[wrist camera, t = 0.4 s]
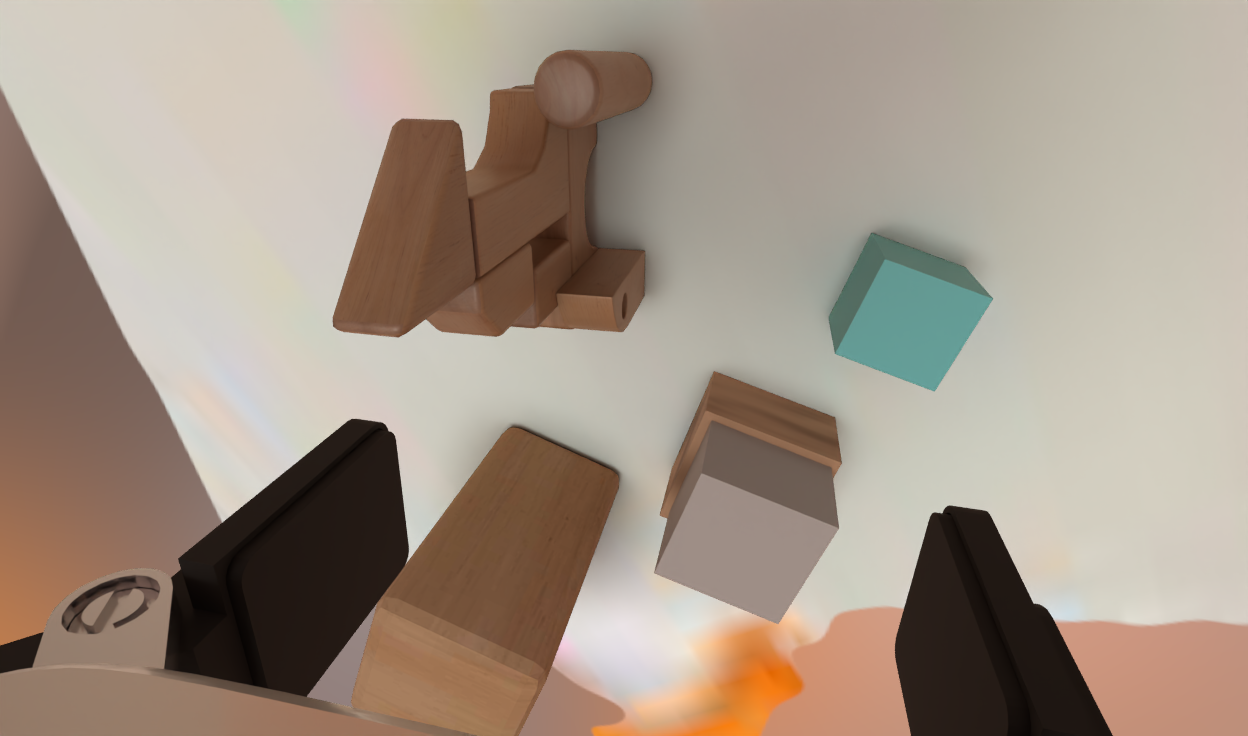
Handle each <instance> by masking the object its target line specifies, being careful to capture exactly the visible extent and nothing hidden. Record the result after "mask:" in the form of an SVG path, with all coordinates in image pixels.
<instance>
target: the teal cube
mask: <svg viewBox="0 0 1248 736" xmlns="http://www.w3.org/2000/svg"><path fill="white" fill-rule="evenodd" d="M992 300H993V298H992V297H991V296H990V295H989V294H988V293H987V291H986V290H985V289H984V288H983V287H982V286H981V285H980V283H979V282H978V281H977V280H976V279H975V278H974V277H973V276H972V274H971V273H970V272H969V271H968V270H967V269H966V268H965V267H963V266H960V265H958V264H955V263H952V262H949V261H947V260H944V259H941V258H939V257H936V256H933V255H930V254H928V253H925V252H922V251H920V250H917V249H914V248H911V247H909V246H906V245H903V244H900V243H898V242H895V241H892V240H890V239H887V238H884V237H881V236H879V235H876V234H873V233H871V235H870V237H869V239H868V241H867V243H866V245H865V247H864V249H863V251H862V253H861V255H860V257H859V259H858V261H857V263H856V265H855V267H854V269H853V271H852V273H851V274H850V276H849V278H848V280H847V282H846V284H845V286H844V288H843V290H842V292H841V294H840V296H839V298H838V300H837V302H836V304H835V306H834V308H833V310H832V312H831V314H830V316H829V323H830V329H831V334H832V340H833V345H834V350H835V354H837V355H839V356H842V357H845V358H847V359H850V360H853V361H855V362H858V363H860V364H863V365H866V366H868V367H871V368H874V369H876V370H879V371H882V372H884V373H887V374H890V375H892V376H895V377H898V378H900V379H903V380H905V381H908V382H911V383H913V384H916V385H919V386H921V387H924V388H927V389H929V390H932V391H935V390H936V389H937V387H938V385H939V384H940V382H941V381H942V379H943V377H944V376H945V374H946V373H947V371H948V370H949V368H950V366H951V365H952V363H953V362H954V360H955V358H956V357H957V355H958V354H959V352H960V350H961V349H962V347H963V346H964V344H965V343H966V341H967V339H968V338H969V336H970V335H971V333H972V331H973V330H974V328H975V327H976V325H977V323H978V322H979V320H980V319H981V317H982V315H983V314H984V312H985V311H986V309H987V308H988V306H989V304H990V303H991V301H992Z"/></svg>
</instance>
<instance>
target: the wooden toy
mask: <svg viewBox="0 0 1248 736" xmlns="http://www.w3.org/2000/svg"><path fill="white" fill-rule="evenodd" d="M651 86H652V77H651V72H650V70H649V67H648V65H647V64H646V63H645V61H644V60H643V59H642V58H641V57H639V56H637V55H635V54H633V53H628V52H608V51H581V50H565V51H559V52H555V53H554V54H552V55H550V56H549V57H547V58H546V59H545V60H544V61H543V63H542V64H541V65H540V66H539V68H538V71H537V73H536V76H535V79H534V84H533V85H523V86H515V87H513V88H511V89H503V90H495V91H492V92H491V94H490V114H489V121H488V128H487V135H486V142H485V147H484V149H483V151H482V153H481V155H480V157H479V159H478V161H477V163H476V165H475V167H474V169H472V170H469V171H466V170H465V159H464V149H463V139H462V131H461V129H460V126H459V124H458V123H456V122H455V121H453V120H427V119H401V120H399V121H398V122H396V123H395V125H394V126H393V127H392V130H391V133H390V136H389V139H388V142H387V146H386V149H385V152H384V155H383V158H382V162H381V165H380V168H379V171H378V174H377V178H376V181H375V184H374V187H373V190H372V194H371V197H370V200H369V203H368V206H367V210H366V213H365V216H364V219H363V223H362V226H361V229H360V232H359V235H358V239H357V242H356V245H355V248H354V251H353V255H352V258H351V261H350V264H349V267H348V271H347V274H346V277H345V280H344V283H343V287H342V290H341V293H340V296H339V299H338V303H337V306H336V309H335V312H334V315H333V327H335V328H336V329H337V330H340V331H343V332H349V333H360V334H370V335H380V336H390V337H400V336H402V335H404V334H406V333H407V332H409V331H410V330H412V329H413V328H414V327H416V326H417V325H418V324H420V323H421V322H422V321H424V320H425V319H426V320H427V321H429V322H430V323H431V324H432V325H433V326H434V327H435V328H436V329H438V330H440V331H442V332H449V333H460V334H472V335H483V336H495V337H496V336H500V335H502V334H503V333H504V332H505V331H506V330H507V329H508V328H509V327H510V326H513V327H525V328H537V327H549V328H561V329H574V328H577V329H588V330H600V331H613V332H623V331H624V330H625V329H626V328H627V326H628V324H629V323H630V321H631V319H632V317H633V316H634V314H635V312H636V310H637V308H638V307H639V305H640V303H641V301H642V299H643V297H644V282H645V251H640V250H625V249H606V248H599V249H598V248H597V247H595V246H591V244H590V243H589V240H588V236H587V231H586V222H585V181H586V174H587V167H588V162H589V158H590V155H591V151H592V150H593V148H594V147H595V146H596V143H597V134H596V122H599V121H602V120H605V119H608V118H610V117H613V116H616V115H619V114H622V113H625V112H628V111H630V110H633V109H635V108H637V107H639V106H641V105H642V104H643V103H644V102H645V101H646V99H647V98H648V96H649V94H650V91H651Z"/></svg>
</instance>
